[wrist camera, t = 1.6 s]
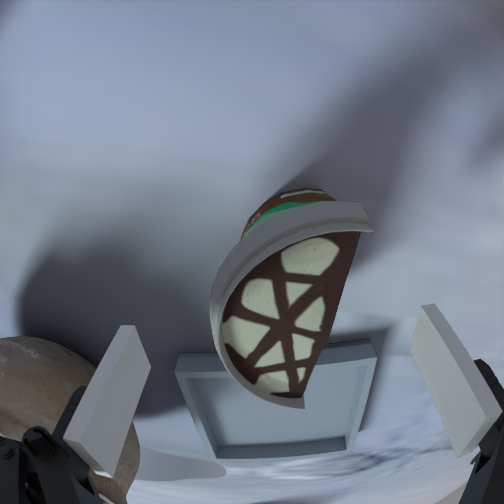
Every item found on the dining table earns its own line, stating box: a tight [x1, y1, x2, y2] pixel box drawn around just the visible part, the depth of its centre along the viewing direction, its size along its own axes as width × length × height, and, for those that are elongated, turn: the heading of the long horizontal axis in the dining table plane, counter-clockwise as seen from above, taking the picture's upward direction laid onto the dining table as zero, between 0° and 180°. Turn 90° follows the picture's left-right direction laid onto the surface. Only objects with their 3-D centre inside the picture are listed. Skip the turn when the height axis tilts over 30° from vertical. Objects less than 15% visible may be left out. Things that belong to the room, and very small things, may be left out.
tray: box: [174, 339, 377, 462], centre depth 30 cm, size 18×18×2 cm
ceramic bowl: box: [0, 336, 140, 504], centre depth 24 cm, size 22×22×15 cm
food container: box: [210, 188, 373, 410], centre depth 19 cm, size 12×6×10 cm, turn 171°
